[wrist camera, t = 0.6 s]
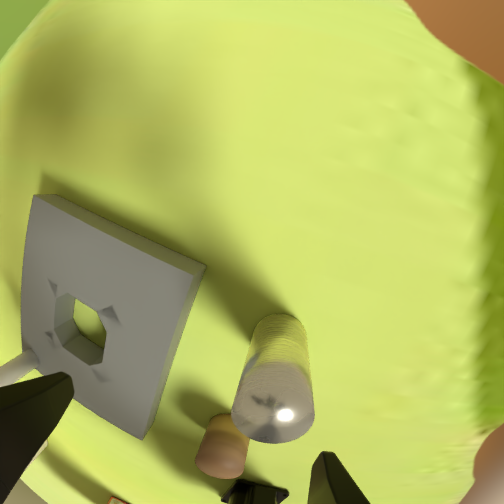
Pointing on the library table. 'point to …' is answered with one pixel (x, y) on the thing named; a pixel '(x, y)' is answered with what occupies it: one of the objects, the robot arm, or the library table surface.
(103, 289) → the grey peg base
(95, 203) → the library table surface
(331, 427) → the library table surface
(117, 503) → the cracker box
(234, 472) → the short pin
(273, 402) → the long pin
